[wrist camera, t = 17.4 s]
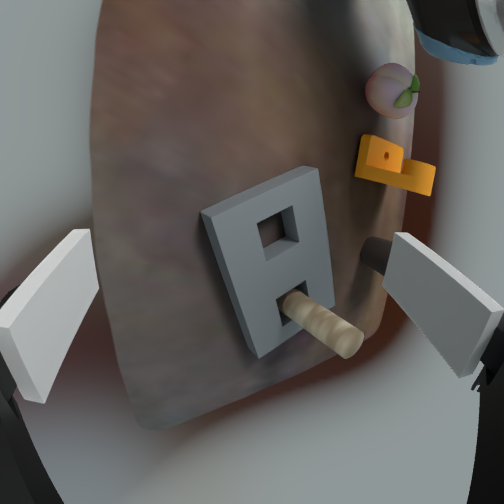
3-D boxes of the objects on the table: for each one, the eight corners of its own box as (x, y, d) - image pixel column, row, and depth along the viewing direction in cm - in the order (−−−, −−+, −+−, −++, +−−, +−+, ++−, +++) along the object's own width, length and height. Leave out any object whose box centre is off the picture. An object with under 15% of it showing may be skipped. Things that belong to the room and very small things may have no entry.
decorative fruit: (368, 127, 47) (420, 134, 40) (343, 93, 42) (399, 94, 34) (388, 89, 47) (436, 92, 39) (366, 56, 42) (418, 54, 34)
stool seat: (199, 211, 37) (210, 217, 34) (302, 165, 42) (317, 168, 40) (248, 348, 49) (259, 358, 47) (323, 297, 55) (335, 304, 52)
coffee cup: (385, 231, 59) (427, 247, 52) (374, 269, 61) (413, 289, 54) (363, 227, 55) (409, 245, 47) (350, 269, 57) (393, 291, 49)
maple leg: (289, 277, 48) (364, 324, 37) (294, 298, 51) (364, 345, 39) (267, 291, 47) (340, 344, 35) (273, 311, 49) (341, 365, 37)
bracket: (392, 146, 52) (448, 157, 43) (385, 183, 55) (440, 199, 45) (358, 132, 46) (422, 141, 37) (350, 175, 49) (413, 191, 39)
